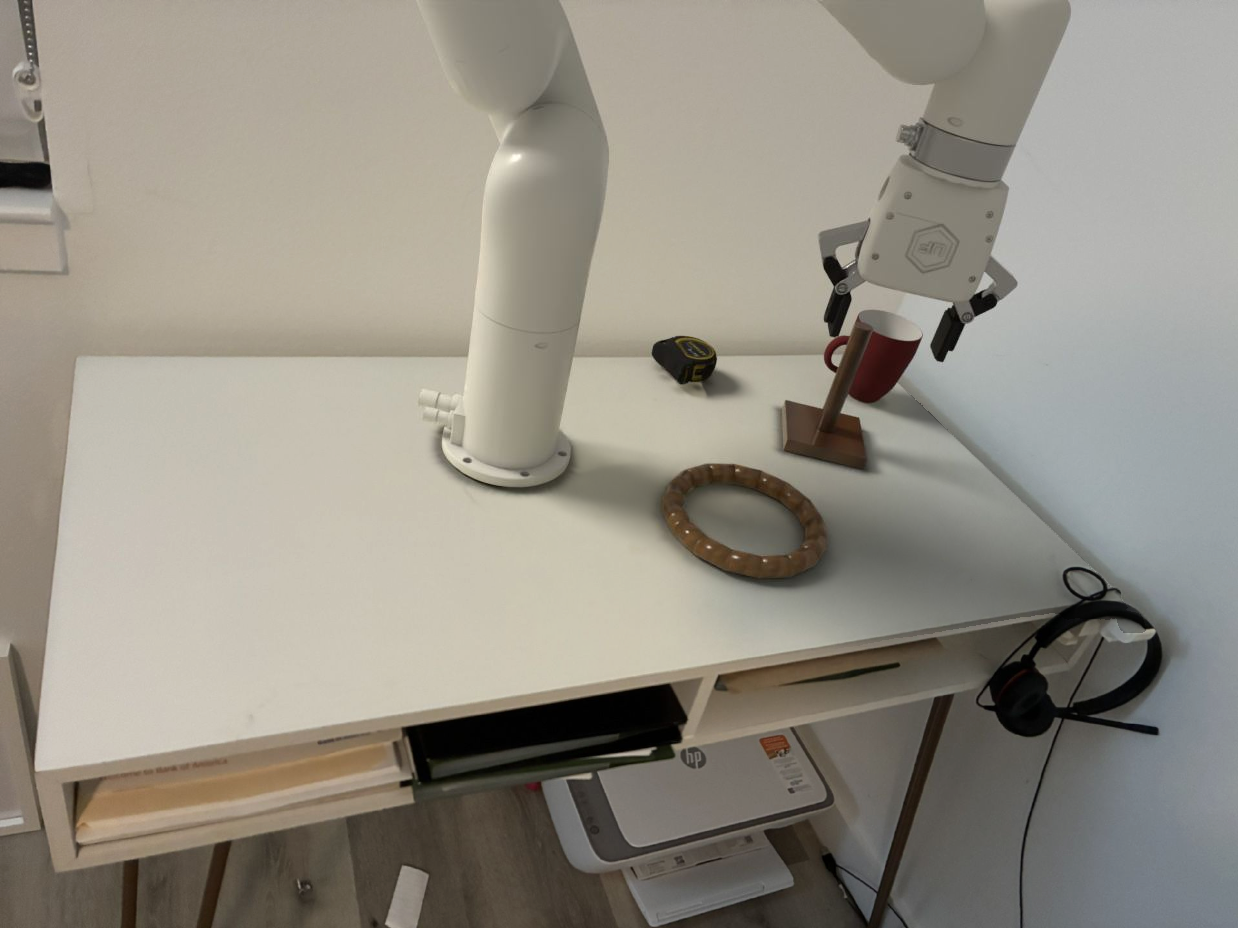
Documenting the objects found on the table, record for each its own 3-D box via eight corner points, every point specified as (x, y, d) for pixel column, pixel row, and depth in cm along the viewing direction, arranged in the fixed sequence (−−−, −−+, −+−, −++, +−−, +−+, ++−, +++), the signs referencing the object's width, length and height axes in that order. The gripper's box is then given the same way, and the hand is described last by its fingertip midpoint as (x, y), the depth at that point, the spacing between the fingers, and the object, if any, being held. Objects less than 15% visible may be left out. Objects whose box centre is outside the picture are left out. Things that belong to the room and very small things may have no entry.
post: (783, 450, 101) (825, 334, 93) (781, 410, 109) (820, 299, 101) (862, 469, 101) (911, 354, 93) (855, 427, 109) (900, 318, 101)
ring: (653, 558, 82) (658, 540, 80) (667, 461, 95) (672, 445, 94) (828, 599, 82) (835, 583, 80) (818, 496, 95) (824, 481, 94)
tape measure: (646, 362, 112) (652, 335, 110) (692, 358, 115) (699, 331, 113) (674, 391, 107) (681, 363, 105) (721, 386, 110) (729, 359, 108)
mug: (824, 407, 111) (852, 334, 106) (804, 374, 118) (829, 303, 112) (903, 415, 114) (934, 344, 108) (879, 382, 120) (907, 313, 115)
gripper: (859, 141, 70) (792, 339, 80) (1078, 192, 70) (986, 384, 80) (849, 118, 76) (789, 305, 86) (1051, 165, 76) (968, 346, 86)
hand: (884, 343), depth 83 cm, fingers open, 9 cm apart
